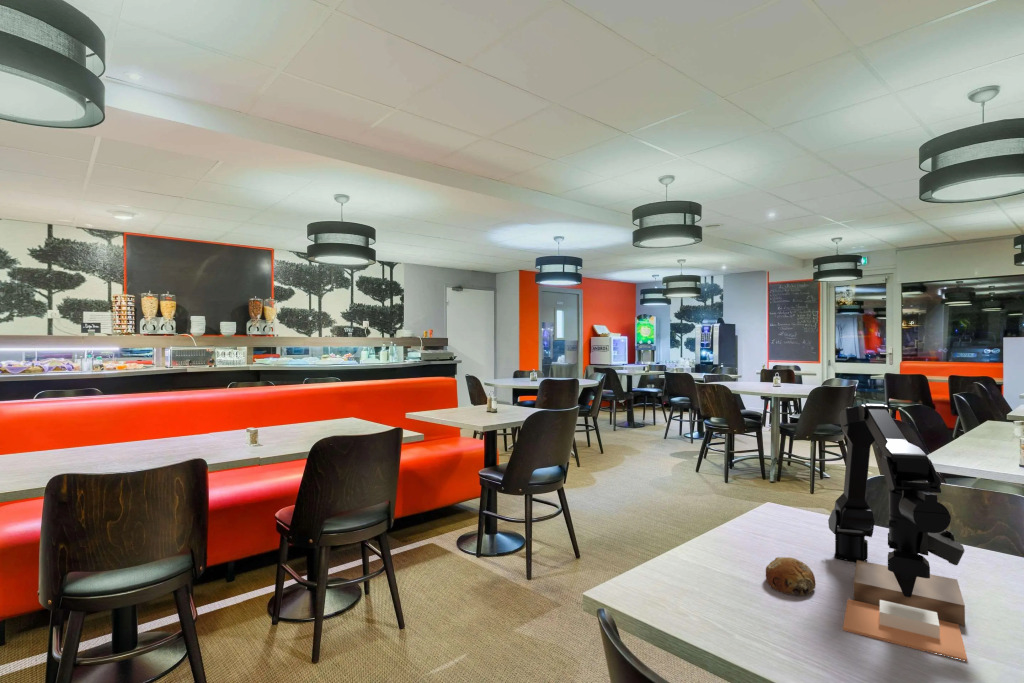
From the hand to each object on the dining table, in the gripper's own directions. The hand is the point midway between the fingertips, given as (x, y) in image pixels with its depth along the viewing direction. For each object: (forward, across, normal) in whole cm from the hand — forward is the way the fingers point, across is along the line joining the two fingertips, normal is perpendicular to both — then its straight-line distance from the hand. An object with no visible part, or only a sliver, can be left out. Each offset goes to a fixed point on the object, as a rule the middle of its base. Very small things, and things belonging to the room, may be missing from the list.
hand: (907, 596), depth 104 cm
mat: (+5, -4, +1) cm, 6 cm away
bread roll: (+5, +4, +21) cm, 22 cm away
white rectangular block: (+3, -3, 0) cm, 4 cm away
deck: (+5, +11, 0) cm, 12 cm away
